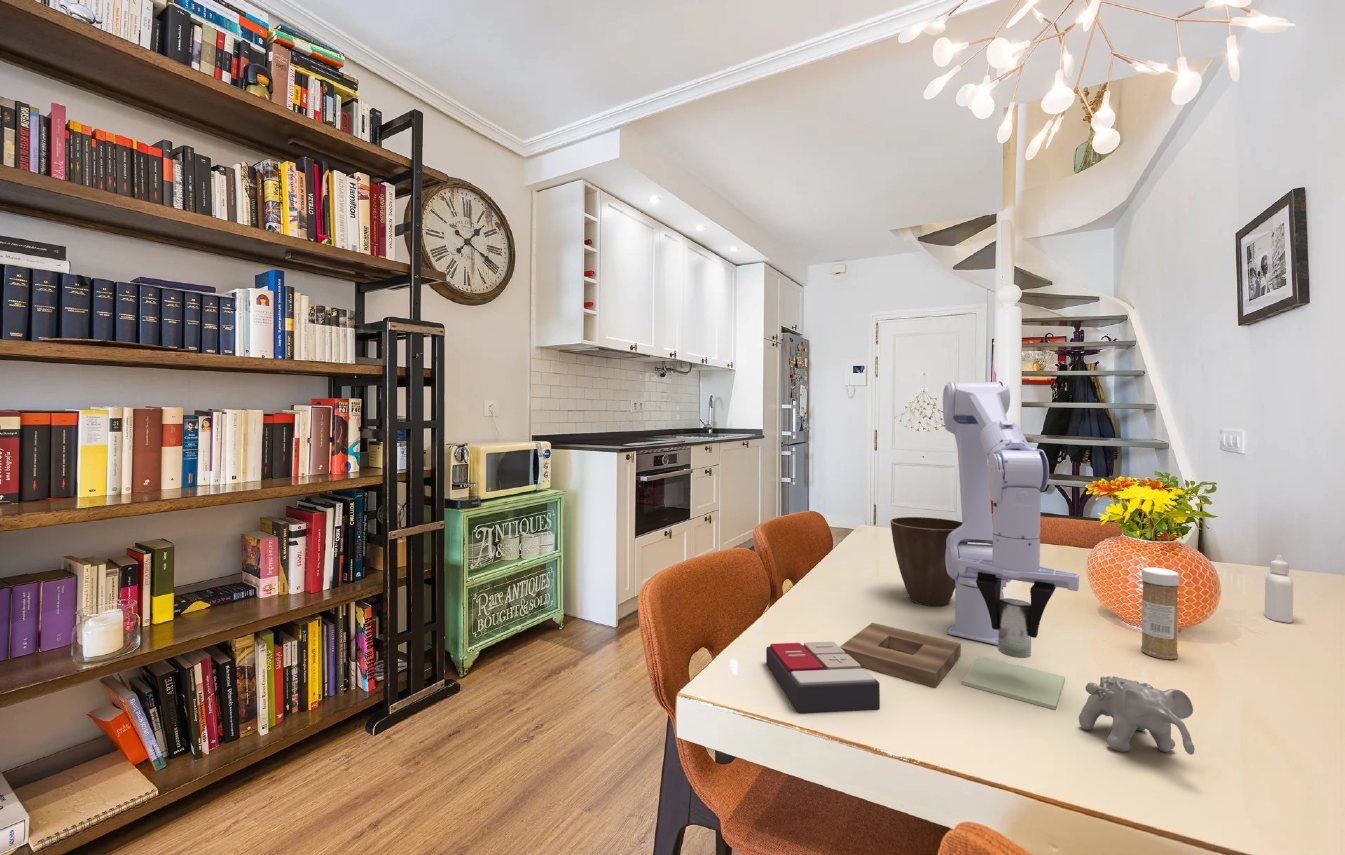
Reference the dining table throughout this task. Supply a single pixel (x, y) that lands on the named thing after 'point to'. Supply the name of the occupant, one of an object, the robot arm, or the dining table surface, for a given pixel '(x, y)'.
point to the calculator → (822, 678)
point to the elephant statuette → (1137, 712)
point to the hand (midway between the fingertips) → (1014, 631)
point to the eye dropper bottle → (1279, 592)
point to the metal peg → (1014, 628)
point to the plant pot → (924, 557)
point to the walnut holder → (921, 667)
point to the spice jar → (1160, 612)
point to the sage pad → (1015, 682)
